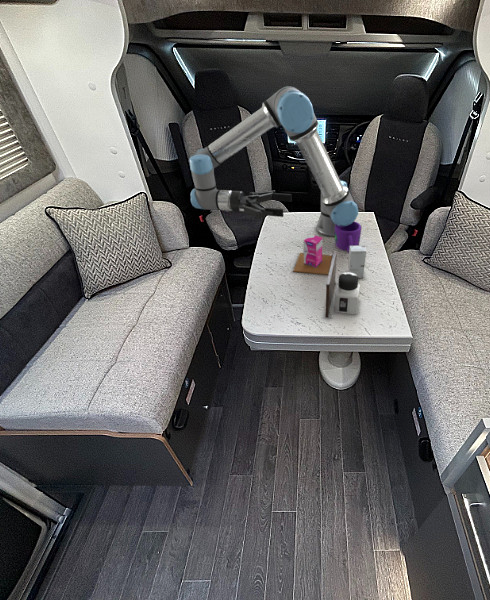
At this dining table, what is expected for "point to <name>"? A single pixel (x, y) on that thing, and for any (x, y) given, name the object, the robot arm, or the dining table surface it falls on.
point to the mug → (347, 236)
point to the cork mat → (320, 269)
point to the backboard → (330, 284)
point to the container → (347, 293)
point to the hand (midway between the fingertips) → (287, 205)
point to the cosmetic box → (357, 260)
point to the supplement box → (313, 250)
